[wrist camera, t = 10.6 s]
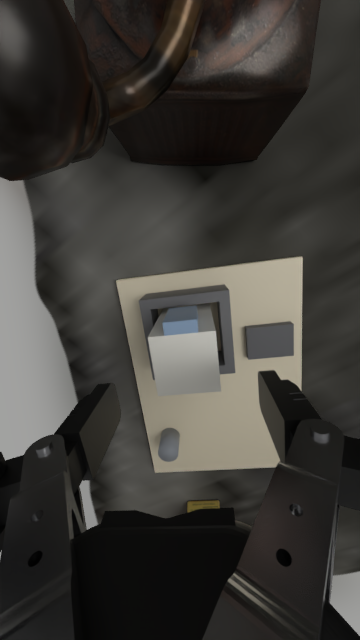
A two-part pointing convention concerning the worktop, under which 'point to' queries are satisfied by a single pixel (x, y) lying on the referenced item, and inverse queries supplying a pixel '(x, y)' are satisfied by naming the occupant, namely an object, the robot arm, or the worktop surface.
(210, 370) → the plug
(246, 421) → the board
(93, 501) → the worktop surface
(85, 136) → the manual coffee grinder
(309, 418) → the robot arm
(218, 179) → the worktop surface
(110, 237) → the worktop surface
